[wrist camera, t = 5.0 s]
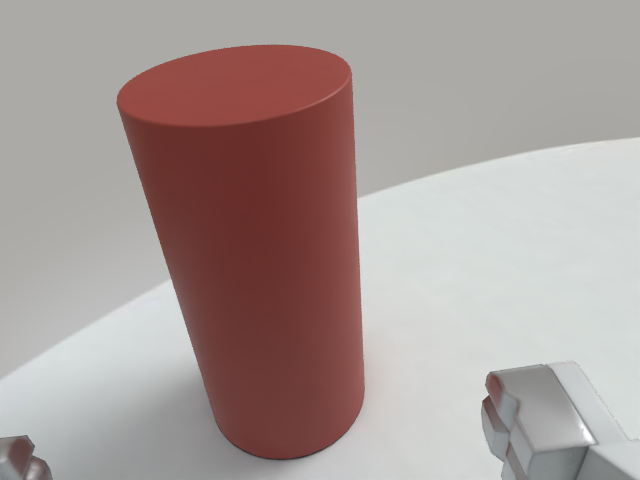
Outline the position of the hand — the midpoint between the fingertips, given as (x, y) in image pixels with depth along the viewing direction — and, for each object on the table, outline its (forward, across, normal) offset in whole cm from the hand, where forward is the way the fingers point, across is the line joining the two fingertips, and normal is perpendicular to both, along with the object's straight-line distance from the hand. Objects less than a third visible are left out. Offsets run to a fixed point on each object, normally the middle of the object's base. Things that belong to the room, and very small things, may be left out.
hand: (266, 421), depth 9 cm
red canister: (+5, 0, +5) cm, 7 cm away
